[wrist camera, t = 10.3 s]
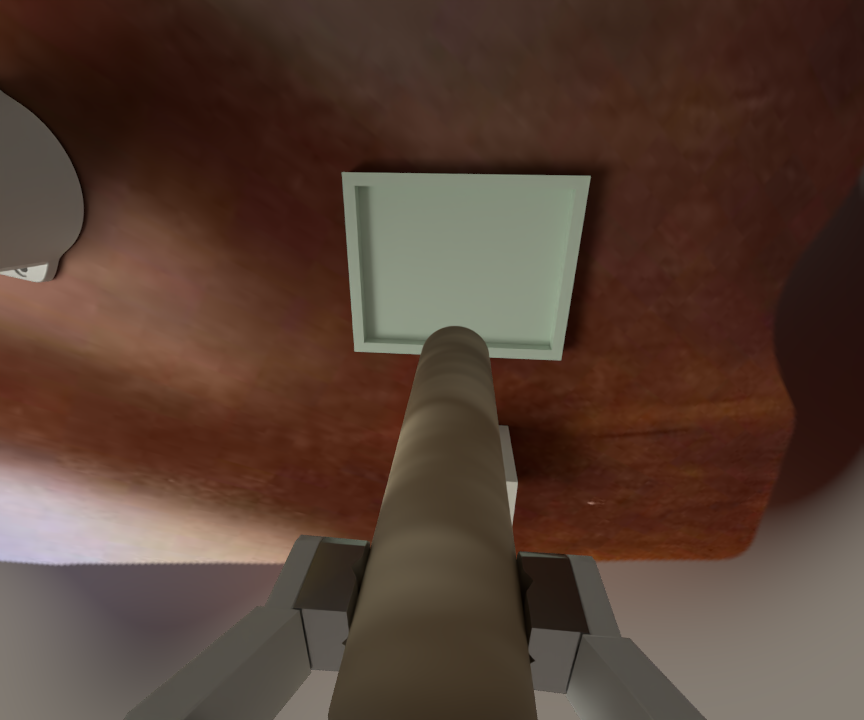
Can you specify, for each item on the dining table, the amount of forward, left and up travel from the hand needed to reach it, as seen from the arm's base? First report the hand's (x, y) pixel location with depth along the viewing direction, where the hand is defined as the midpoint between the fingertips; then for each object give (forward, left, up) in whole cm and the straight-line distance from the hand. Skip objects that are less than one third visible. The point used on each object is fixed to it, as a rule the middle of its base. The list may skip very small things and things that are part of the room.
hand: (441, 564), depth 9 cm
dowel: (0, 0, -11) cm, 11 cm away
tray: (0, 0, -32) cm, 32 cm away
